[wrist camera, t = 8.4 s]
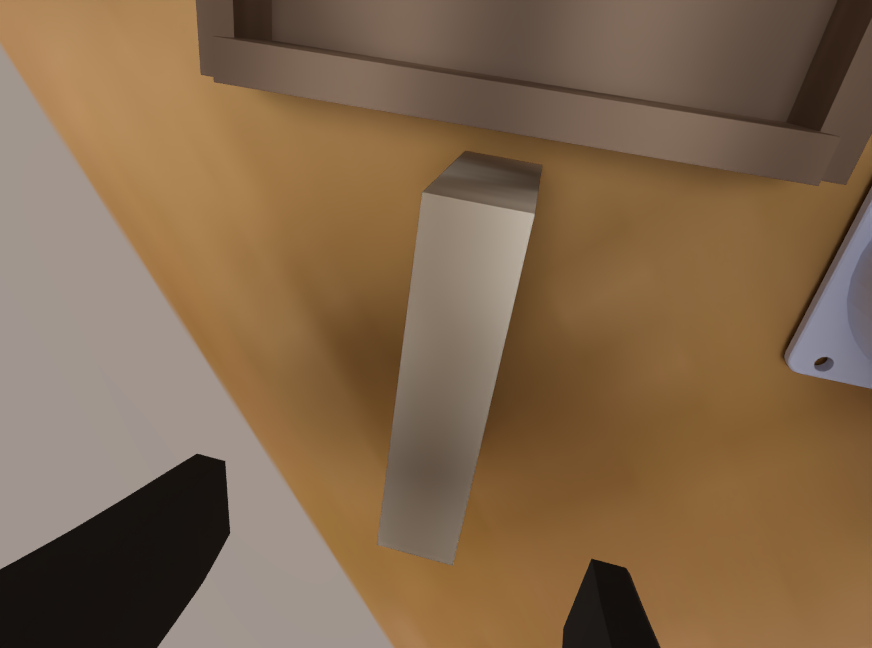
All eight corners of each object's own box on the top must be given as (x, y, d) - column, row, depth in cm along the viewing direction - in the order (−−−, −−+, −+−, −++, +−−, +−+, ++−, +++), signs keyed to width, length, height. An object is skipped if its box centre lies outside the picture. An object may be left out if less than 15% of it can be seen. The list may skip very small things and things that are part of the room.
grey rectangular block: (542, 164, 16) (534, 214, 11) (478, 441, 21) (452, 565, 16) (465, 150, 16) (422, 192, 11) (421, 426, 22) (377, 544, 16)
